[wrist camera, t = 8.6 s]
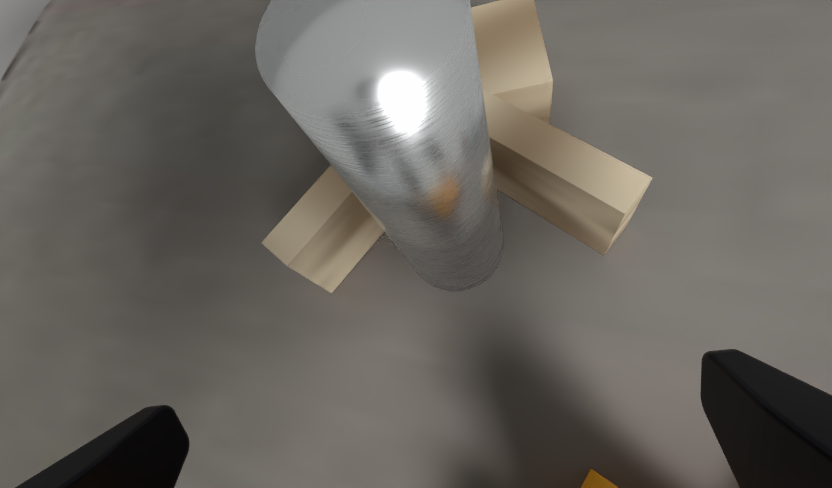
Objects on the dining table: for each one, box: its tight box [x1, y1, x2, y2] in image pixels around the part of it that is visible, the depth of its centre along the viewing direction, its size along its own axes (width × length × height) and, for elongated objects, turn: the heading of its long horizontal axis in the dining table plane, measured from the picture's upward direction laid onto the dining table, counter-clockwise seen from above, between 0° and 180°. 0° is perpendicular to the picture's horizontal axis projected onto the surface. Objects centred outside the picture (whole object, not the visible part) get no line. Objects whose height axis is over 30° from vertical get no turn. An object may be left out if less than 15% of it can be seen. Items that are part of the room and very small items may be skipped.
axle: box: [255, 0, 504, 291], centre depth 13 cm, size 4×4×12 cm
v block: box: [261, 0, 652, 293], centre depth 18 cm, size 10×13×4 cm
